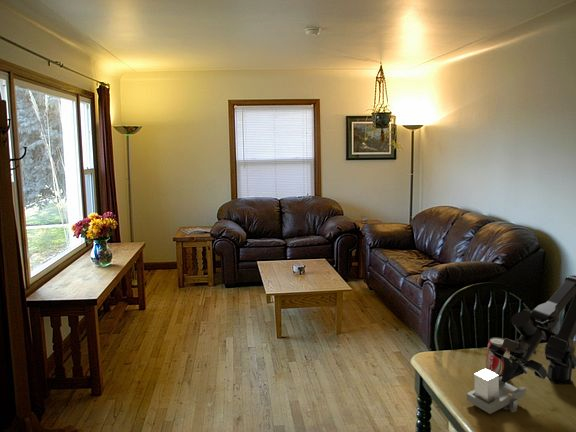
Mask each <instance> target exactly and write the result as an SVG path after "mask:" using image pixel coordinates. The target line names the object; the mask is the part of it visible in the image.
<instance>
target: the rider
mask: <svg viewBox="0 0 576 432" xmlns="http://www.w3.org/2000/svg"><path fill="white" fill-rule="evenodd" d="M499 377H500V375H497V374H495V373H493V372H491V371H490V370H488V369H486V367H485V368H484V369H481V370H479V371H478V372H475V373H474V390H475V397H477V398H479V399H481V400H482V401H484V402H486V403H488V404H490V403H492V402H494V401H495V400H497V399H499Z"/></svg>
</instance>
